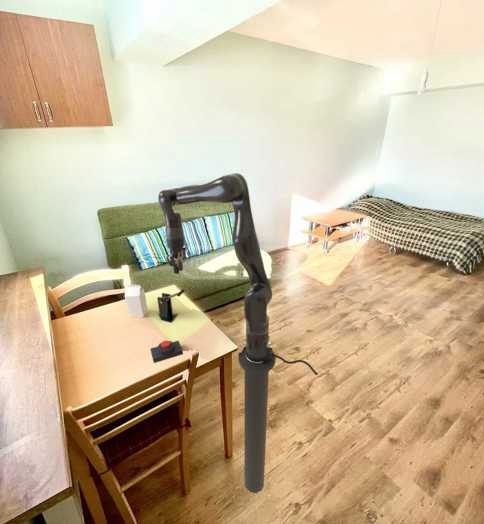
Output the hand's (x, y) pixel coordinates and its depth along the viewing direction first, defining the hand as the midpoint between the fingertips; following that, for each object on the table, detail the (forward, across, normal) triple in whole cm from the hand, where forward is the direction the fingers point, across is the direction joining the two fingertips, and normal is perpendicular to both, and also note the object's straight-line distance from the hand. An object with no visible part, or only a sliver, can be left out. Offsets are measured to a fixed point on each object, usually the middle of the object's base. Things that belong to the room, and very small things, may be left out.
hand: (178, 271), depth 127 cm
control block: (+27, -23, -4) cm, 36 cm away
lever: (+15, 0, +5) cm, 15 cm away
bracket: (+27, 0, +10) cm, 29 cm away
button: (+24, -23, -4) cm, 33 cm away
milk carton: (+27, -3, +24) cm, 36 cm away
